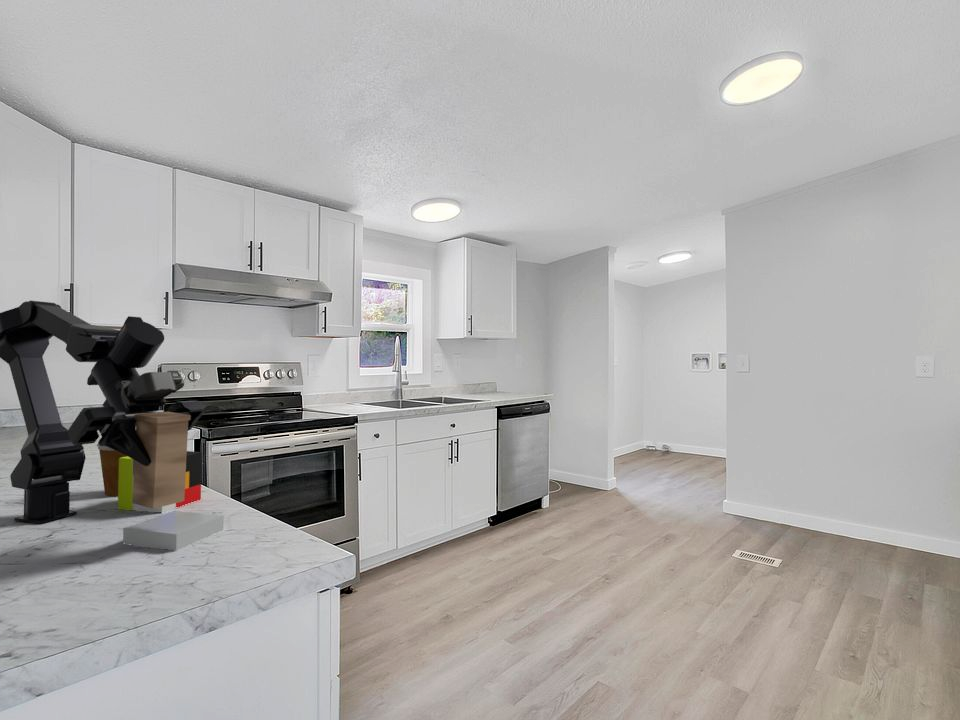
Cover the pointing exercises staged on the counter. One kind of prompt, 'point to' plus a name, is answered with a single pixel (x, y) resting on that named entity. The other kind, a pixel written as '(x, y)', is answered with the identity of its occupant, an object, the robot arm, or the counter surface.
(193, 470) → the puzzle toy
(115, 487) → the disposable coffee cup
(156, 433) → the walnut canister
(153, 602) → the counter surface
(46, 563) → the counter surface
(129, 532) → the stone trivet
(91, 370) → the robot arm
